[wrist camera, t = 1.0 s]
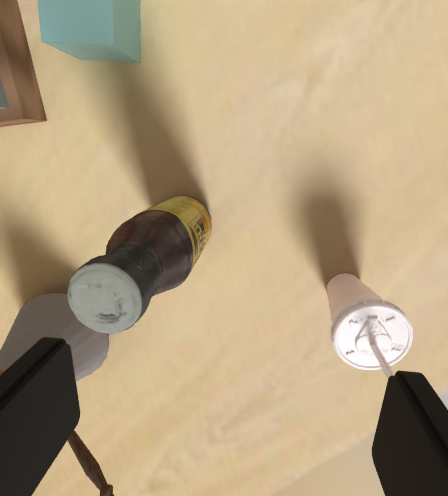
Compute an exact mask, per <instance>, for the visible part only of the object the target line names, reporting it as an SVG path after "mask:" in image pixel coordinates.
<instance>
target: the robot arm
mask: <svg viewBox="0 0 448 496" xmlns="http://www.w3.org/2000/svg"><path fill="white" fill-rule="evenodd" d="M79 418H80V407H79V400H78V394H77V387H76V380H75V373H74V366H73V359H72V352H71V347H70V345H69V344H67V343H66V341H65V339H63V338H54V337H43V338H41V339H40V340H39V341H38V342H36V343H35V344H34V345H33V346H32V347H31V348H30V349H29V350H28V351H26V352H25V353H24V354H23V355H22V356H21V357H20V358H19V359H18V360H16V361H15V362H14V363H13V364H12V365H11V366H10V367H9V368H8V369H6V370H5V371H4V372H3V373H2V374H1V375H0V496H31V495H32V494H33V492H34V491H35V489H36V488H37V486H38V485H39V483H40V482H41V480H42V478H43V477H44V475H45V474H46V472H47V471H48V469H49V468H50V466H51V465H52V463H53V461H54V460H55V458H56V457H57V455H58V454H59V452H60V451H61V449H62V448H63V446H64V444H65V443H66V441H67V440H68V438H69V437H70V435H71V434H72V432H73V431H74V429H75V427H76V426H77V424H78V421H79ZM372 457H373V462H374V465H375V468H376V471H377V473H378V476H379V479H380V482H381V485H382V488H383V491H384V493H385V496H448V410H447V408H446V407H445V405H444V404H443V402H442V401H441V399H440V398H439V397H438V395H437V394H436V392H435V391H434V389H433V388H432V386H431V385H430V384H429V382H428V381H427V379H426V378H425V376H424V375H423V374H421V373H418V372H408V371H397V372H396V374H395V376H390V377H389V379H388V383H387V387H386V391H385V395H384V400H383V404H382V408H381V412H380V416H379V420H378V424H377V429H376V433H375V437H374V442H373V446H372Z"/></svg>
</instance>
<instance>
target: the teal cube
mask: <svg viewBox="0 0 448 496" xmlns="http://www.w3.org/2000/svg"><path fill="white" fill-rule="evenodd" d="M38 10H39V20H40V31H41V41H42V42H44V43H46V44H48V45H50V46H52V47H55V48H57V49H59V50H61V51H63V52H65V53H68V54H70V55H72V56H74V57H76V58H78V59H80V60H95V61H112V62H130V63H141V49H140V0H38Z"/></svg>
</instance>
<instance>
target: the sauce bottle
mask: <svg viewBox="0 0 448 496" xmlns="http://www.w3.org/2000/svg"><path fill="white" fill-rule="evenodd" d="M211 228H212V224H211V217H210V214H209V213H208V211H207V210H206V208H205V207H204V206H203V205H202V204H201V203H200V202H199V201H198V200H197V199H195V198H191V197H186V196H176V197H172V198H169V199H167V200H165V201H163V202H161V203H159V204H157V205H155V206H153V207H151V208H149V209H147V210H145V211H143V212H140V213H139V214H137V215H135V216H134V217H133V218H131V219H129V220H127V221H126V222H124V223H123V224H121V225H120V227H119V228H117V229H116V231H115V232H114V233H113V235H112V236H111V238H110V240H109V242H108V244H107V247H106V255H103V256H98V257H96V258H93V259H91V260H90V261H88V262H87V263H85V264H84V265H83V266H81V267H80V268H79V269H78V270H77V271H76V272H75V273H74V274H73V275H72V277H71V279H70V281H69V286H68V291H67V298H68V303H69V306H70V308H71V309H72V311H73V312H74V314H75V316H76V317H77V318H78V320H79V321H80V322H81V323H83V324H84V325H85V326H87V327H89V328H90V329H92V330H94V331H97V332H101V333H108V334H112V333H116V332H121V331H124V330H127V329H129V328H130V327H132V326H133V325H134V324H135V323H136V322H137V321H138V320H139V319H140V318H141V317H142V315H143V314H144V313H145V311H146V309H147V307H148V305H149V302H150V299H151V297H152V296H154V295H156V294H159V293H162V292H165V291H167V290H170V289H173V288H175V287H177V286H179V285H180V284H182V283H183V282H184V281H185V280H186V278H187V277H188V275H189V274H190V272H191V270H192V268H193V267H194V265H195V263H196V262H197V260H198V258H199V256H200V254H201V253H202V251H203V249H204V247H205V245H206V243H207V242H208V240H209V237H210V234H211Z"/></svg>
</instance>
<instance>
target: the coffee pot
mask: <svg viewBox="0 0 448 496" xmlns="http://www.w3.org/2000/svg"><path fill="white" fill-rule="evenodd" d="M43 337H54V338H63V339H65V341H66V343H67V344H69V345H70V347H71V352H72V359H73V366H74V373H75V380H76V381H78V380H80V379H82V378H84V377H86V376H88V375H90V374H92V373H93V372H94V371H95V370H97V369H98V368H99V367H100V366H101V365H102V363H103V362H104V360H105V359H106V356H107V352H108V348H109V334H108V333H101V332H97V331H94V330H92V329H90V328H89V327H87V326H85V325H84V324H83V323H81V322H80V321H79V320H78V318H77V317H76V316H75V314H74V312H73V311H72V309H71V308H70V306H69V303H68V298H67V294H65V293H49V294H43V295H39V296H37V297H35V298H33V299H31V300H29V301H28V302H27V303H26V304H25V305H24V306H23V307H22V308H21V309H20V311H19V313H18V315H17V317H16V319H15V321H14V324H13V326H12V328H11V330H10V332H9V334H8V336H7V338H6V340H5V342H4V344H3V346H2V348H1V350H0V375H1V374H2V373H3V372H4V371H5V370H6V369H8V368H9V367H10V366H11V365H12V364H13V363H14V362H15V361H16V360H18V359H19V358H20V357H21V356H22V355H23V354H24V353H25V352H26V351H28V350H29V349H30V348H31V347H32V346H33V345H34V344H35V343H36V342H38V341H39V340H40V339H41V338H43ZM68 442H69V444H70V446H71V448H72V450H73V451H74V453H75V455H76V457H77V459H78V461H79V463H80V464H81V466H82V468H83V470H84V472H85V474H86V475H87V476H88V477H89V478H90V480H91V481H92V482H93V483H94V484H95V485H96V487H97V488H98V489H99V490H100V496H114V494H113V486H112V485H109V484H107V482H106V480H105V478H104V475H103V473H102V471H101V469H100V466H99V464H98V462H97V461H96V459H95V458H94V457H93V455H92V454H91V453H90V451H89V450H88V448H87V447H86V446H85V444H84V443H83V441H82V440H81V439H80V437H79V436H78V435H77V433H76V432H75V430H74V431H73V432H72V434H71V435H70V437H69V438H68Z"/></svg>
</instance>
